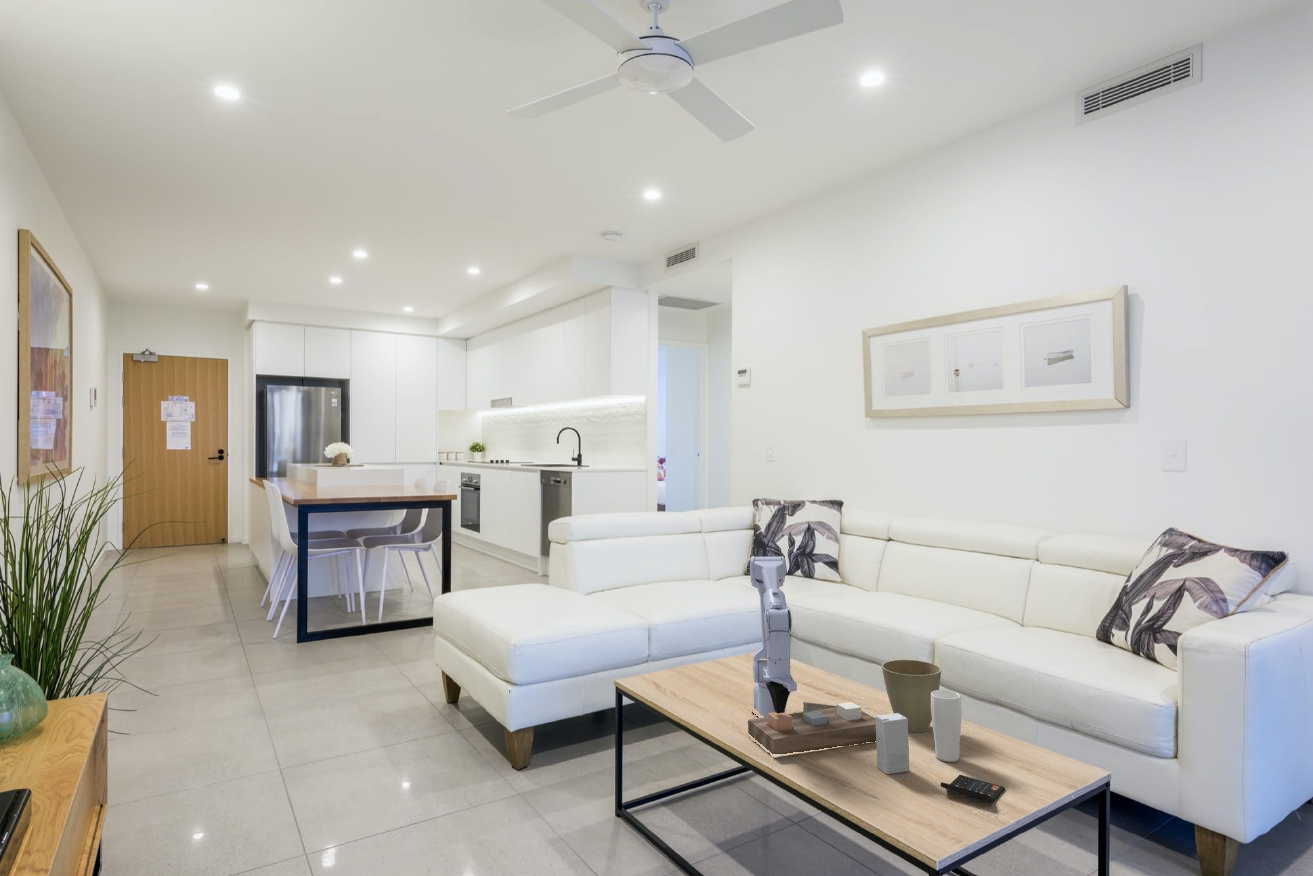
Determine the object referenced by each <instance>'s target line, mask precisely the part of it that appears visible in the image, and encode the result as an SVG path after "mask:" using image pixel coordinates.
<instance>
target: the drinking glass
mask: <svg viewBox="0 0 1313 876" xmlns="http://www.w3.org/2000/svg"><path fill="white" fill-rule="evenodd" d="M962 710H963V709H962V698H961V694H960V693H958V692H956V691H951V690H945V689H939V690H936V691H932V692H931V715H932V720H931V723H932V730H933V731H932V732H933V741H934V752H935V753H934V754H935V757H936V758H937V759H938V760H940V761H942V762H945V763H947V762H948V763H955V762H958V761H959V760H960V747H961V746H960V744H961V729H962V715H963V714H962V712H963V711H962Z"/></svg>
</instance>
